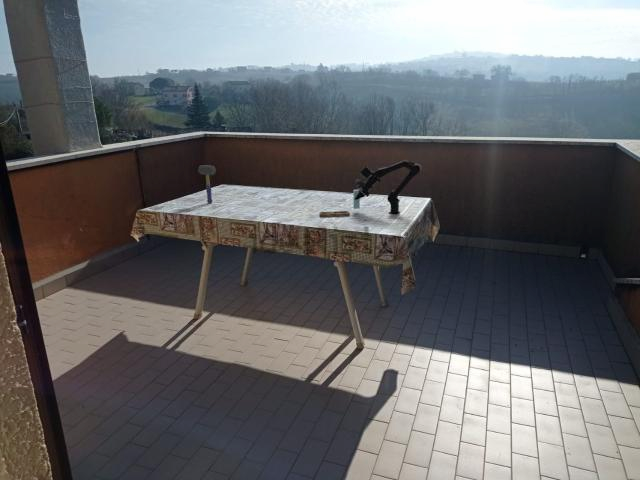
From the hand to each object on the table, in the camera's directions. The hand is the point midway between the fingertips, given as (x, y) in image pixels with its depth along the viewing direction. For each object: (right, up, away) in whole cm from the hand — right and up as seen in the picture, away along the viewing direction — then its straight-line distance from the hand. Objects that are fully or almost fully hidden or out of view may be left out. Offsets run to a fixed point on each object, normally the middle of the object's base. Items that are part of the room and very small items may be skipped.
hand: (354, 199), depth 322 cm
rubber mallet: (-111, 0, +39) cm, 118 cm away
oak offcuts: (-17, -12, -4) cm, 21 cm away
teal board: (+1, -6, +2) cm, 7 cm away
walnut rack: (-14, -11, -4) cm, 19 cm away
